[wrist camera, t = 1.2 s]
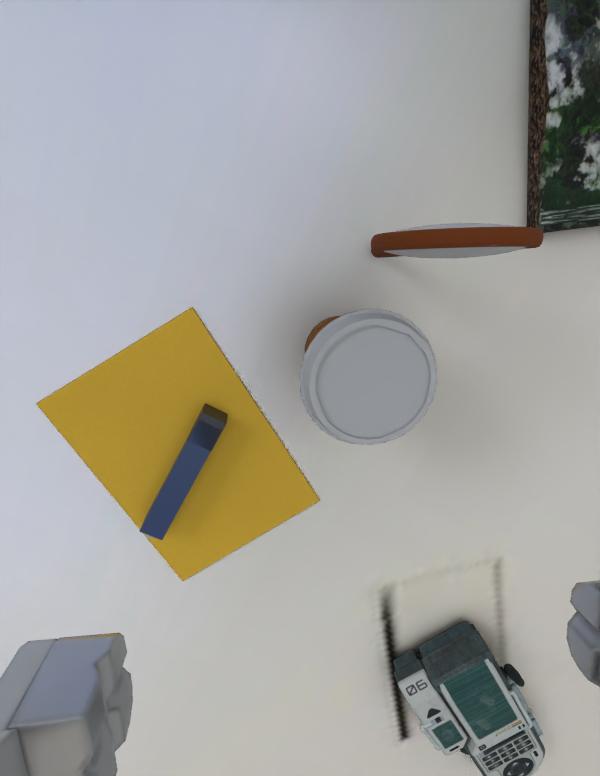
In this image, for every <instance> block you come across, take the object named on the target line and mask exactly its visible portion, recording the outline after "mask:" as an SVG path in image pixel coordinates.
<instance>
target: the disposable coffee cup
mask: <svg viewBox="0 0 600 776" xmlns="http://www.w3.org/2000/svg"><path fill="white" fill-rule="evenodd" d="M435 387H436V364H435V357H434V353H433V351H432V348H431V346H430V344H429V341H428V340H427V338H426V337H425V335H424V334H423V333H422V331H421V330H420V329H419V328H418V327H417V326H416V325H415V324H413V323H412V322H411V321H410V320H408V319H406V318H405V317H403V316H401V315H399V314H396V313H394V312H391V311H386V310H381V309H363V310H358V311H355V312H351V313H347V314H344V315H343V316H335V317H331V318H328V319H326V320H324V321H322V322H321V323H319V324H318V325H317V326H316V327H315V328H314V329H313V330H312V331H311V333H310V335H309V336H308V339H307V342H306V346H305V355H304V357H303V361H302V365H301V371H300V392H301V396H302V400H303V403H304V405H305V408H306V410H307V412H308V414H309V415H310V417H311V418H312V420H313V421H314V422H315V423H316V424H317V426H318V427H319V428H321V429H322V430H323V431H324V432H326V433H327V434H329V435H330V436H332V437H334V438H336V439H338V440H341V441H344V442H348V443H352V444H367V445H372V444H379V443H385V442H388V441H391V440H394V439H396V438H398V437H400V436H402V435H404V434H405V433H406V432H408V431H409V430H411V429H412V428H413V427H414V426H415V425H416V424H417V423H418V422H419V421H420V420H421V418H422V417H423V416H424V415H425V413H426V411H427V409H428V408H429V406H430V404H431V402H432V400H433V395H434V391H435Z"/></svg>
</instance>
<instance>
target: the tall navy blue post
mask: <svg viewBox="0 0 600 776" xmlns="http://www.w3.org/2000/svg"><path fill="white" fill-rule="evenodd" d="M227 418H228V414H227V413H225V412H223V411H221V410H219V409H217V408H215V407H213V406H210V405H208V404H206V403H205V404H204V406H203V408H202V410H201V412H200V414H199V416H198V418H197V419H196V421H195V423H194V425H193V427H192V429H191V431H190V434H189V436H188V437H187V439H186V441H185V443H184V445H183V447H182V449H181V451H180V453H179V454H178V456H177V458H176V460H175V462H174V464H173V466H172V468H171V469H170V471H169V473H168V475H167V477H166V479H165V481H164V483H163V484H162V486H161V488H160V490H159V492H158V494H157V496H156V498H155V500H154V501H153V503H152V505H151V507H150V509H149V511H148V513H147V515H146V517H145V519H144V521H143V524H142V526H141V529H140V532H142V533H145V535H146V536H147V537H148V538H154V537H155V538H157V539H160V540H163V538H164V536H165V534H166V533H167V531H168V529H169V527H170V525H171V524H172V522H173V520H174V518H175V516H176V514H177V513H178V511H179V509H180V507H181V505H182V503H183V502H184V500H185V498H186V496H187V494H188V492H189V491H190V489H191V487H192V485H193V483H194V481H195V480H196V478H197V476H198V474H199V472H200V470H201V469H202V467H203V465H204V463H205V461H206V459H207V458H208V456H209V454H210V452H211V451H212V450H213V448H214V446H215V444H216V442H217V440H218V439H219V437H220V435H221V433H222V431H223V430H224V428H225V426H226V424H227Z"/></svg>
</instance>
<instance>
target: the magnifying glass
mask: <svg viewBox="0 0 600 776" xmlns="http://www.w3.org/2000/svg"><path fill="white" fill-rule="evenodd" d="M542 241H543V232H542V230H541V229H539V228H534V227H515V226H509V225H499V224H483V223H458V224H440V225H430V226H422V227H415V228H409V229H404V230H400V231H396V232H389V233H382V234H377V235H375V236H373V238H372V241H371V248H372V249H371V252H372V255H373V256H374V257H377V258H379V257H396V256H408V257H419V258H467V257H479V256H488V255H496V254H502V253H507V252H512V251H516V250H519V249H524V248H536V247H539V246H540V245H541V244H542Z"/></svg>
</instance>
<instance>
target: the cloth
mask: <svg viewBox="0 0 600 776" xmlns="http://www.w3.org/2000/svg"><path fill="white" fill-rule="evenodd" d="M205 403H206V404H208V405H210V406H213V407H215V408H217V409H219V410H221V411H223V412H225V413H227V414H228V418H227V424H226V426H225V428H224V430H223V431H222V433H221V435H220V437H219V439H218V440H217V442H216V444H215V446H214V448H213V450H212V451H211V452H210V454H209V456H208V458H207V459H206V461H205V463H204V465H203V467H202V469H201V470H200V472H199V474H198V476H197V478H196V480H195V481H194V483H193V485H192V487H191V489H190V491H189V492H188V494H187V496H186V498H185V500H184V502H183V503H182V505H181V507H180V509H179V511H178V513H177V514H176V516H175V518H174V520H173V522H172V524H171V525H170V527H169V529H168V531H167V533H166V534H165V536H164V538H163V540H160V539H157V538H155V537H154V538H148V537H147V536H146V535H145V533H143V534H144V535H145V536H146V537H147V539H148V540H149V541H150V542H151V543H152V545H153V546H154V547H155V548H156V549H157V551H158V552H159V553H160V554H161V555H162V557H163V558H164V559H165V560H166V562H167V563H168V564H169V565H170V566H171V568H172V569H173V570H174V571H175V572H176V574H177V575H178V576H179V577H180V578H181V580H182V581H184V580H185V579H187V578H189V577H191V576H192V575H194V574H196V573H197V572H199V571H201V570H202V569H204V568H206V567H207V566H209V565H211V564H213V563H214V562H216V561H218V560H219V559H221V558H223V557H224V556H226V555H228V554H230V553H231V552H233V551H235V550H236V549H238V548H240V547H241V546H243V545H245V544H247V543H248V542H250V541H252V540H253V539H255V538H257V537H258V536H260V535H262V534H263V533H265V532H267V531H269V530H270V529H272V528H274V527H275V526H277V525H279V524H280V523H282V522H284V521H286V520H287V519H289V518H291V517H292V516H294V515H296V514H297V513H299V512H301V511H303V510H304V509H306V508H308V507H309V506H311V505H313V504H314V503H316V502H318V501H319V498H318V497H317V495H316V494H315V492H314V491H313V489H312V488H311V486H310V485H309V483H308V482H307V480H306V479H305V477H304V476H303V474H302V473H301V471H300V470H299V468H298V467H297V465H296V463H295V462H294V460H293V459H292V457H291V456H290V454H289V453H288V451H287V450H286V448H285V447H284V445H283V444H282V442H281V441H280V439H279V438H278V436H277V435H276V433H275V432H274V430H273V429H272V427H271V426H270V424H269V423H268V421H267V420H266V418H265V417H264V415H263V413H262V412H261V410H260V409H259V407H258V406H257V404H256V403H255V401H254V400H253V398H252V397H251V395H250V394H249V392H248V391H247V389H246V388H245V386H244V385H243V383H242V382H241V380H240V379H239V377H238V376H237V374H236V373H235V371H234V370H233V368H232V367H231V365H230V364H229V362H228V360H227V359H226V357H225V356H224V354H223V353H222V351H221V350H220V348H219V347H218V345H217V344H216V342H215V341H214V339H213V338H212V336H211V335H210V333H209V332H208V330H207V329H206V327H205V326H204V324H203V323H202V321H201V320H200V318H199V317H198V315H197V314H196V312H195V310H194V309H193V308H191V309H189V310H187V311H186V312H184V313H182V314H181V315H179V316H178V317H176V318H174V319H173V320H171V321H170V322H168V323H166V324H165V325H163V326H161V327H160V328H158V329H157V330H155V331H153V332H152V333H150V334H148V335H147V336H145V337H144V338H142V339H140V340H139V341H137V342H136V343H134V344H132V345H131V346H129V347H127V348H126V349H124V350H123V351H121V352H119V353H118V354H116V355H115V356H113V357H111V358H110V359H108V360H106V361H105V362H103V363H102V364H100V365H98V366H97V367H95V368H94V369H92V370H90V371H89V372H87V373H85V374H84V375H82V376H81V377H79V378H77V379H76V380H74V381H73V382H71V383H69V384H68V385H66V386H64V387H63V388H61V389H60V390H58V391H56V392H55V393H53V394H52V395H50V396H48V397H47V398H45V399H43V400H42V401H40V402H39V403H37V405H38V407H39V408H40V409H41V410H42V411H43V413H44V414H45V415H46V416H47V417H48V419H49V420H50V421H51V422H52V424H53V425H54V426H55V427H56V428H57V430H58V431H59V432H60V433H61V434H62V436H63V437H64V438H65V439H66V440H67V442H68V443H69V444H70V445H71V447H72V448H73V449H74V450H75V451H76V453H77V454H78V455H79V456H80V457H81V459H82V460H83V461H84V462H85V463H86V465H87V466H88V467H89V468H90V470H91V471H92V472H93V473H94V474H95V476H96V477H97V478H98V479H99V480H100V482H101V483H102V484H103V485H104V486H105V488H106V489H107V490H108V491H109V493H110V494H111V495H112V496H113V497H114V499H115V500H116V501H117V502H118V503H119V505H120V506H121V507H122V508H123V509H124V511H125V512H126V513H127V514H128V516H129V517H130V518H131V519H132V520H133V522H134V523H135V524H136V525H137V526H138V528H139V529H141V526H142V524H143V521H144V519H145V517H146V515H147V513H148V511H149V509H150V507H151V505H152V503H153V501H154V500H155V498H156V496H157V494H158V492H159V490H160V488H161V486H162V484H163V483H164V481H165V479H166V477H167V475H168V473H169V471H170V469H171V468H172V466H173V464H174V462H175V460H176V458H177V456H178V454H179V453H180V451H181V449H182V447H183V445H184V443H185V441H186V439H187V437H188V436H189V434H190V431H191V429H192V427H193V425H194V423H195V421H196V419H197V418H198V416H199V414H200V412H201V410H202V408H203V406H204V404H205Z"/></svg>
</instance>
